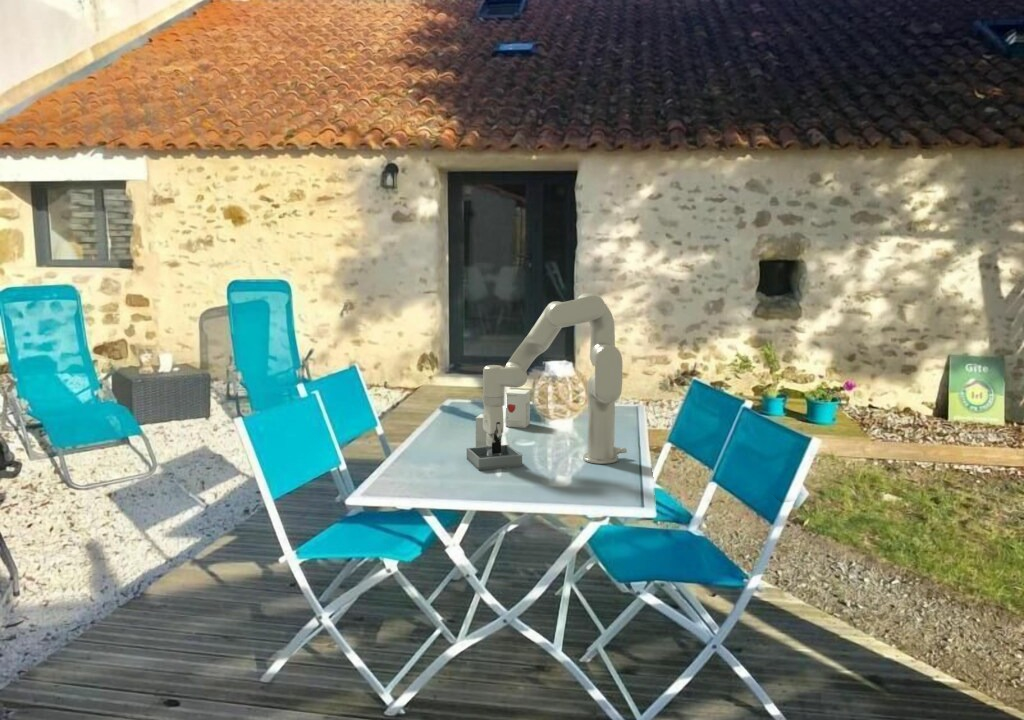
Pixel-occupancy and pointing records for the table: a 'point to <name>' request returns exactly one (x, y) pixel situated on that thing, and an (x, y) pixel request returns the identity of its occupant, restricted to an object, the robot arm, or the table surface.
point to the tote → (494, 458)
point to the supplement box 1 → (480, 432)
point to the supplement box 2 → (518, 408)
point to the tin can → (490, 445)
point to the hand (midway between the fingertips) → (493, 450)
